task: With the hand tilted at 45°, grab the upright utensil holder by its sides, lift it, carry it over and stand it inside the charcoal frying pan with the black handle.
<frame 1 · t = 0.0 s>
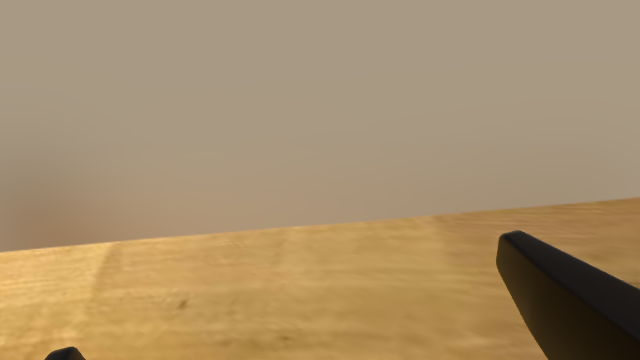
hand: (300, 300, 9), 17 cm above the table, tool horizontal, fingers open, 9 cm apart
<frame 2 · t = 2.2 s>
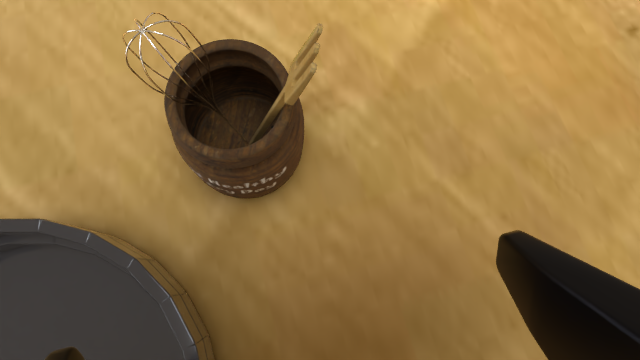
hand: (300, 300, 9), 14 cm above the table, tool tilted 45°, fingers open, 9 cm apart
utensil holder: (250, 148, 24), on the table
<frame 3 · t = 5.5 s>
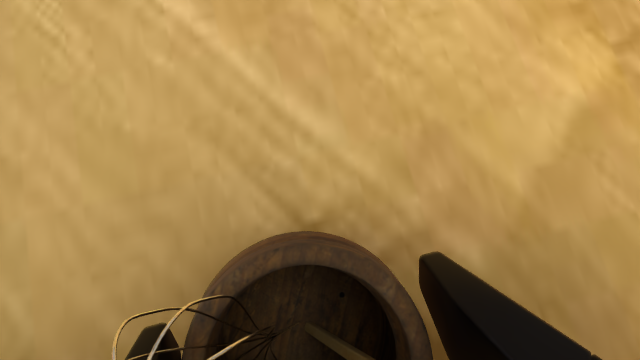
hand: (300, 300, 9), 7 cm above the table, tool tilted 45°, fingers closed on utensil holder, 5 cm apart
utensil holder: (306, 324, 16), on the table, touching gripper
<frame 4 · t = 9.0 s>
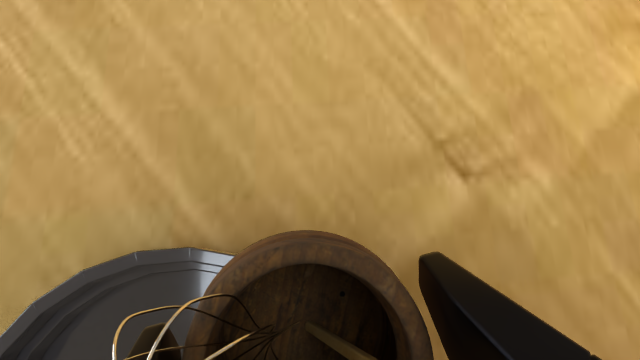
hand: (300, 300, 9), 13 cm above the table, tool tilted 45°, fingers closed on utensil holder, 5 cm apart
utensil holder: (306, 323, 16), point 7 cm above the table, touching gripper
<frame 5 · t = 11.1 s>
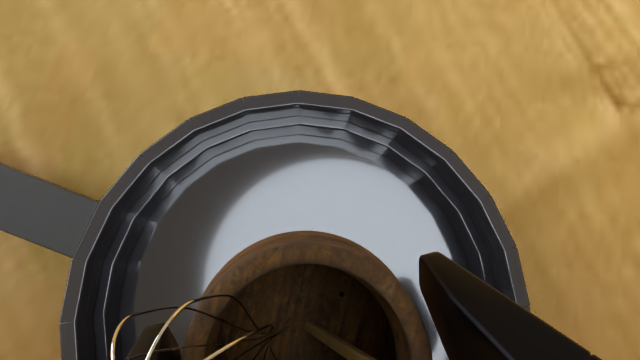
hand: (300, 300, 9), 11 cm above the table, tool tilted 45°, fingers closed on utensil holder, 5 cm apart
utensil holder: (306, 323, 16), point 4 cm above the table, touching gripper
pan: (300, 304, 20), on the table
when the fingers open (7 cm above the table, at t = 12.7 s): utensil holder stays where it is, resting on pan.
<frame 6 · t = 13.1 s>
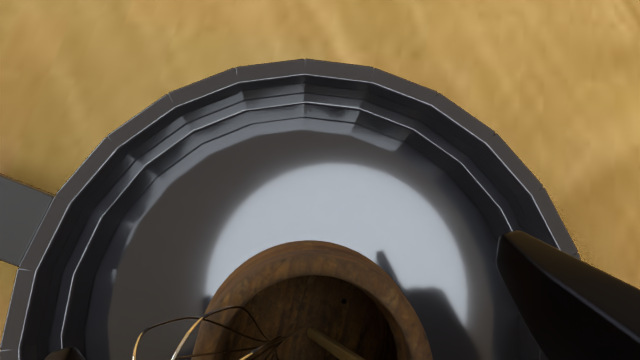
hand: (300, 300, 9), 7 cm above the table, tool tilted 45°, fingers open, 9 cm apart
utensil holder: (308, 329, 16), resting on pan
pan: (307, 322, 16), on the table
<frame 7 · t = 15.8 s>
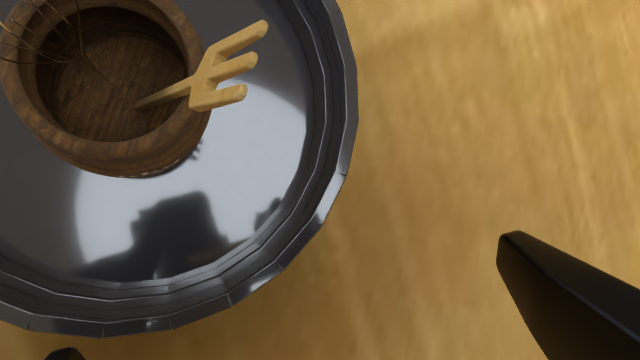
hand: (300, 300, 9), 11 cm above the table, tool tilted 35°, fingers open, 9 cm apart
utensil holder: (137, 108, 19), resting on pan
pan: (137, 104, 19), on the table
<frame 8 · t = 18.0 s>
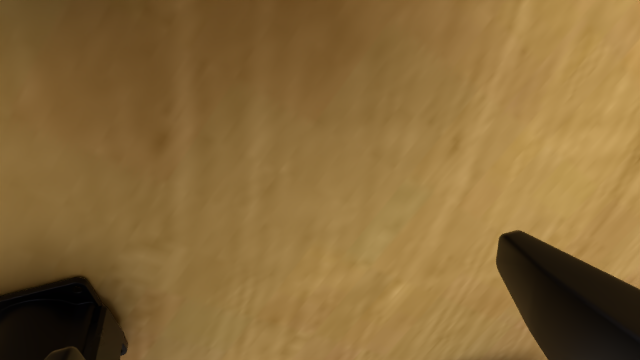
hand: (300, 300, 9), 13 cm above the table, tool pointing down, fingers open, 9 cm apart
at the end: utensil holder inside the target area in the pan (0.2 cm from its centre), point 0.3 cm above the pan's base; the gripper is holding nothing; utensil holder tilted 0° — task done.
